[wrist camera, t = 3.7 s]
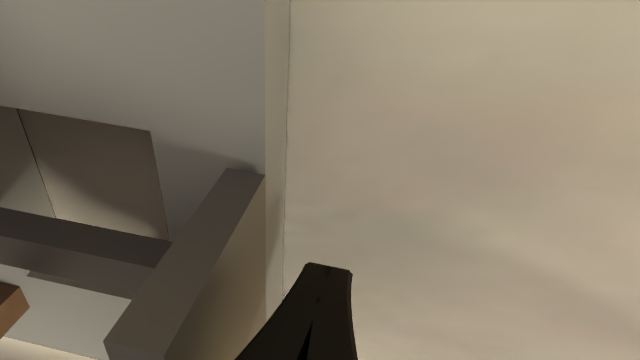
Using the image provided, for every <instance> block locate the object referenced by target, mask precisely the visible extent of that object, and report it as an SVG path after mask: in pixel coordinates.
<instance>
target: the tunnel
mask: <svg viewBox="0 0 640 360" xmlns="http://www.w3.org/2000/svg"><path fill="white" fill-rule="evenodd" d="M29 308H30V306H29V304H28V302H27V300H26V298H25V296H24V294H23V292H22V290H21V287H20V286H16V285H11V284H7V283H3V282H0V339H1V338H2V337H3V336H4V335H5V334H6V333H7V332H8V330H9V329H10V328H11V327H12V326H13V325H14V324H15V323H16V322H17V321H18V320H19V319H20V318H21V317H22V316H23V315H24V313H25V312H26V311H27V310H28V309H29Z"/></svg>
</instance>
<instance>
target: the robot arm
mask: <svg viewBox="0 0 640 360" xmlns="http://www.w3.org/2000/svg"><path fill="white" fill-rule="evenodd" d="M352 275H353V274H352V273H351V272H350V271H349V270H345V269H340V268H336V267H331V266H326V265H321V264H316V263H311V262H309V263H307V264H305V266H304V268H303V270H302V272H301V273H300V275H299V277H298V279H297V280H296V282H295V283H294V285H293V286H292V288H291V289H290V291H289V292H288V294H287V295H286V297H285V298H284V300H283V301H282V302H281V304H280V305H279V306H278V308H277V309H276V310H275V312H274V313H273V314H272V316H271V317H270V318H269V319H268V321H267V322H266V323H265V325H264V326H263V327H262V328H261V330H260V331H259V332H258V333H257V334H256V335H255V337H254V338H253V339H252V340H251V341H250V342H249V343H248V345H247V346H246V347H245V348H244V349H243V350H242V352H241V353H240V354H239V355H238V356H237V357H236V358H235V359H234V360H358V358H357V352H356V345H355V338H354V331H353V322H352V309H351V282H352Z"/></svg>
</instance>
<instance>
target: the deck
mask: <svg viewBox="0 0 640 360" xmlns="http://www.w3.org/2000/svg"><path fill="white" fill-rule="evenodd" d="M289 25H290V0H0V207H3V208H8V209H12V210H17V211H22V212H27V213H32V214H37V215H42V216H47V217H52V218H56V217H55V214H54V211H53V209H52V206H51V203H50V200H49V198H48V195H47V192H46V189H45V187H44V184H43V181H42V178H41V176H40V173H39V170H38V167H37V165H36V162H35V159H34V156H33V154H32V151H31V148H30V145H29V143H28V140H27V137H26V134H25V132H24V129H23V126H22V123H21V121H20V118H19V115H18V112H17V110H16V108H17V109H23V110H29V111H35V112H41V113H47V114H53V115H59V116H65V117H71V118H77V119H83V120H88V121H94V122H100V123H106V124H112V125H118V126H124V127H130V128H136V129H142V130H148V131H150V133H151V138H152V144H153V150H154V155H155V161H156V167H157V172H158V178H159V184H160V189H161V195H162V201H163V206H164V212H165V218H166V224H167V229H168V235H169V241H170V242H174V241H175V239H176V238H177V236H178V235H179V234H180V232H181V231H182V229H183V228H184V227H185V225H186V224H187V222H188V221H189V220H190V218H191V217H192V215H193V214H194V213H195V211H196V210H197V208H198V207H199V206H200V204H201V203H202V201H203V200H204V199H205V197H206V196H207V194H208V193H209V192H210V190H211V189H212V187H213V186H214V185H215V183H216V182H217V180H218V179H219V178H220V176H221V175H222V173H223V172H224V171H225V169H226V168H230V169H235V170H241V171H247V172H252V173H258V174H264V175H266V322H267V321H268V319H269V318H270V317H271V316H272V314H273V313H274V312H275V310H276V309H277V308H278V306H279V305H280V304H281V302H282V281H283V245H284V208H285V171H286V135H287V98H288V62H289ZM0 282H3V283H7V284H11V285H16V286H20V287H21V290H22V292H23V294H24V296H25V298H26V300H27V302H28V304H29V306H30V308H29V309H28V310H27V311H26V312H25V313H24V315H23V316H22V317H21V318H20V319H19V320H18V321H17V322H16V323H15V324H14V325H13V326H12V327H11V328H10V329H9V330H8V332H7V333H6V334H5V335H4V337H8V338H12V339H17V340H21V341H25V342H29V343H33V344H37V345H41V346H45V347H49V348H53V349H57V350H61V351H65V352H69V353H74V354H78V355H82V356H86V357H90V358H94V359H98V360H109V357H108V355H107V352H106V349H105V346H104V343H103V340H104V339H105V337H106V336H107V334H108V333H109V332H110V330H111V329H112V327H113V326H114V325H115V323H116V322H117V320H118V319H119V318H120V316H121V315H122V313H123V312H124V311H125V309H126V308H127V306H128V305H129V304H130V302H131V301H132V299H133V298H134V297H135V295H136V294H133V293H129V292H124V291H120V290H115V289H111V288H106V287H102V286H97V285H93V284H88V283H84V282H79V281H75V280H70V279H66V278H61V277H57V276H52V275H48V274H43V273H39V272H34V271H30V270H25V269H21V268H16V267H12V266H7V265H3V264H0Z"/></svg>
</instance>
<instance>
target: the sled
mask: <svg viewBox="0 0 640 360" xmlns="http://www.w3.org/2000/svg"><path fill="white" fill-rule="evenodd" d="M0 264H3V265H7V266H12V267H16V268H21V269H25V270H30V271H34V272H39V273H43V274H48V275H52V276H57V277H61V278H66V279H70V280H75V281H79V282H84V283H88V284H93V285H97V286H102V287H106V288H111V289H115V290H120V291H124V292H129V293H133V294H136V295H135V297H134V298H133V299H132V301H131V302H130V304H129V305H128V306H127V308H126V309H125V311H124V312H123V313H122V315H121V316H120V318H119V319H118V320H117V322H116V323H115V325H114V326H113V327H112V329H111V330H110V332H109V333H108V334H107V336H106V337H105V339H104V340H103V343H104V346H105V349H106V352H107V355H108V357H109V360H234V359H235V358H236V357H237V356H238V355H239V354H240V353H241V352H242V350H243V349H244V348H245V347H246V346H247V345H248V343H249V342H250V341H251V340H252V339H253V338H254V337H255V335H256V334H257V333H258V332H259V331H260V330H261V328H262V327H263V326H264V325H265V323H266V175H264V174H258V173H252V172H247V171H241V170H235V169H230V168H226V169H225V171H224V172H223V173H222V175H221V176H220V178H219V179H218V180H217V182H216V183H215V185H214V186H213V187H212V189H211V190H210V192H209V193H208V194H207V196H206V197H205V199H204V200H203V201H202V203H201V204H200V206H199V207H198V208H197V210H196V211H195V213H194V214H193V215H192V217H191V218H190V220H189V221H188V222H187V224H186V225H185V227H184V228H183V229H182V231H181V232H180V234H179V235H178V236H177V238H176V239H175V241H174V242H170V241H165V240H160V239H155V238H150V237H146V236H141V235H136V234H131V233H126V232H121V231H116V230H111V229H106V228H101V227H96V226H91V225H86V224H81V223H77V222H72V221H67V220H62V219H57V218H52V217H47V216H42V215H37V214H32V213H27V212H22V211H17V210H12V209H8V208H3V207H0Z"/></svg>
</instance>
